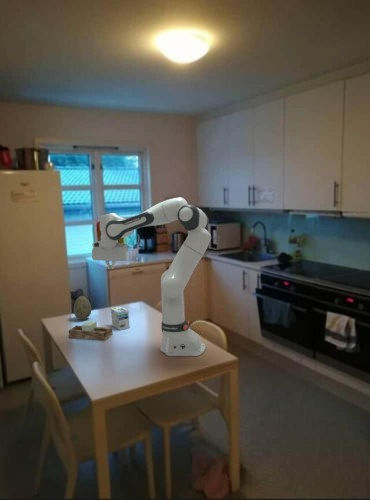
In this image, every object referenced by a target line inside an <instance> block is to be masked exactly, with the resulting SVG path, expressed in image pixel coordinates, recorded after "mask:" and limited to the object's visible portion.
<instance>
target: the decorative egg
mask: <svg viewBox="0 0 370 500" xmlns="http://www.w3.org/2000/svg"><path fill="white" fill-rule="evenodd" d="M72 311H73V315H74V316H75V318H76V319H78V320H81V321H83V320H86V319H87V318H89V317H90V316H91V314H92V305H91V302H90V300H89V299H88V298H87V297H86V296H84V295H80V296H78V297H77V298H76V300H75V301H74V305H73V309H72Z"/></svg>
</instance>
